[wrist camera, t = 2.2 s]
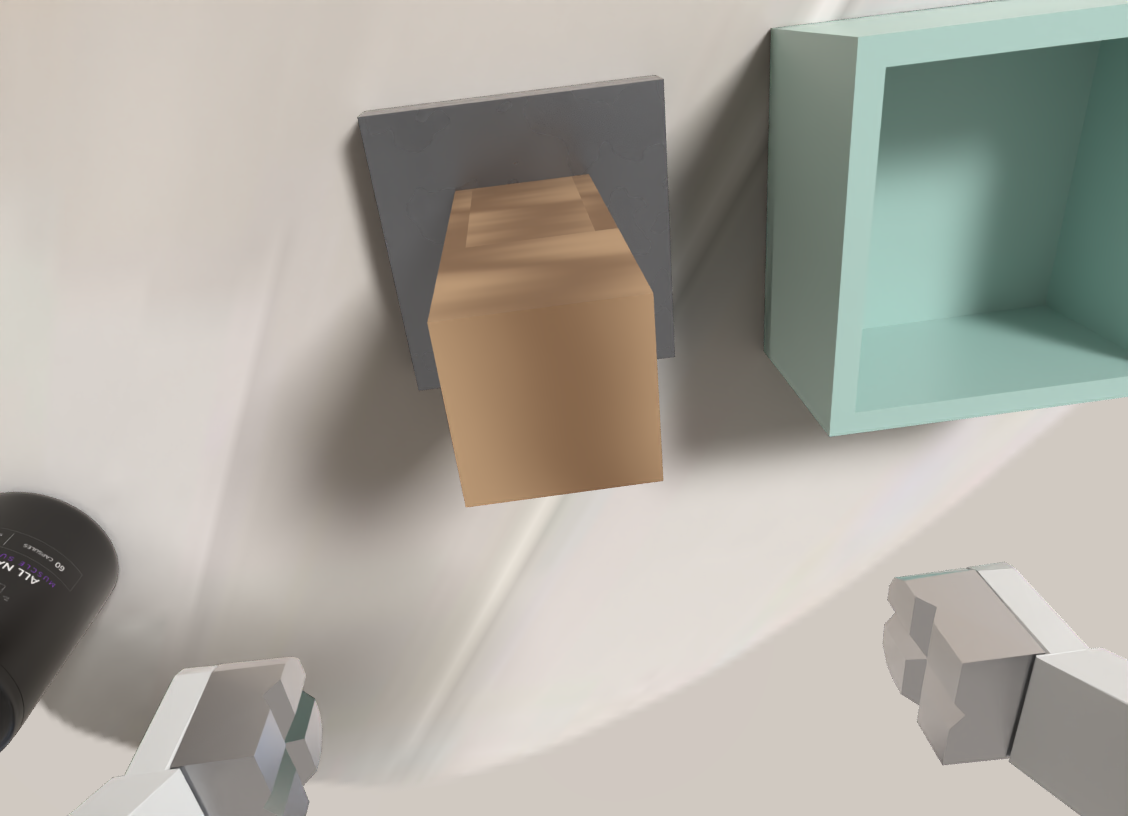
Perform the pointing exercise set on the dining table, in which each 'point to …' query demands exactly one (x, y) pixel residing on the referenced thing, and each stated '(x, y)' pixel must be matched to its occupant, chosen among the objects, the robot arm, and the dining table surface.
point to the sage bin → (949, 211)
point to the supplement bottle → (45, 595)
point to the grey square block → (519, 179)
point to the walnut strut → (544, 344)
